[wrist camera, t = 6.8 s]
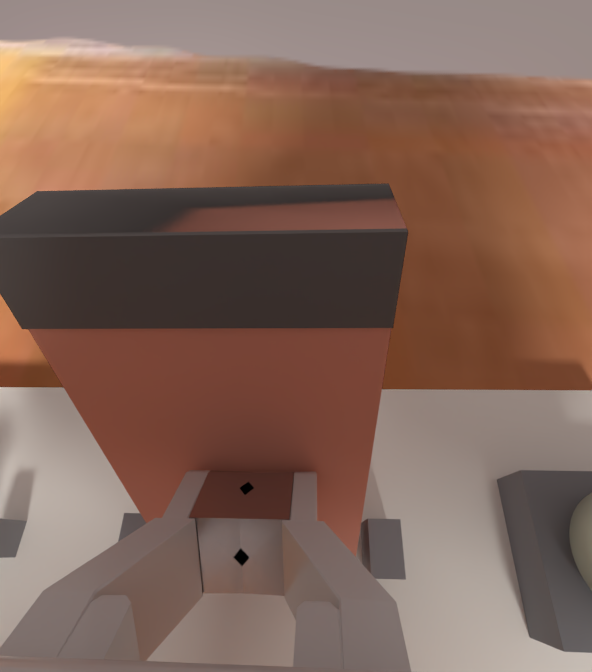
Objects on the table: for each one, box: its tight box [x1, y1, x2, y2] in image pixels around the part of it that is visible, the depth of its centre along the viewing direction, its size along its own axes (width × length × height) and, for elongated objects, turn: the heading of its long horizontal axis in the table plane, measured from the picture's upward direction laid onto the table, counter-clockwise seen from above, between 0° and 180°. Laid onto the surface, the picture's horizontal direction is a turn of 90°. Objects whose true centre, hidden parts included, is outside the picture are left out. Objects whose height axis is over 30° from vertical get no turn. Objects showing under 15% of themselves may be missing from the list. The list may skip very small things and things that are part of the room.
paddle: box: [0, 184, 408, 557], centre depth 10 cm, size 2×6×12 cm, turn 89°
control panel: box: [0, 387, 592, 672], centre depth 14 cm, size 12×30×4 cm, turn 89°
